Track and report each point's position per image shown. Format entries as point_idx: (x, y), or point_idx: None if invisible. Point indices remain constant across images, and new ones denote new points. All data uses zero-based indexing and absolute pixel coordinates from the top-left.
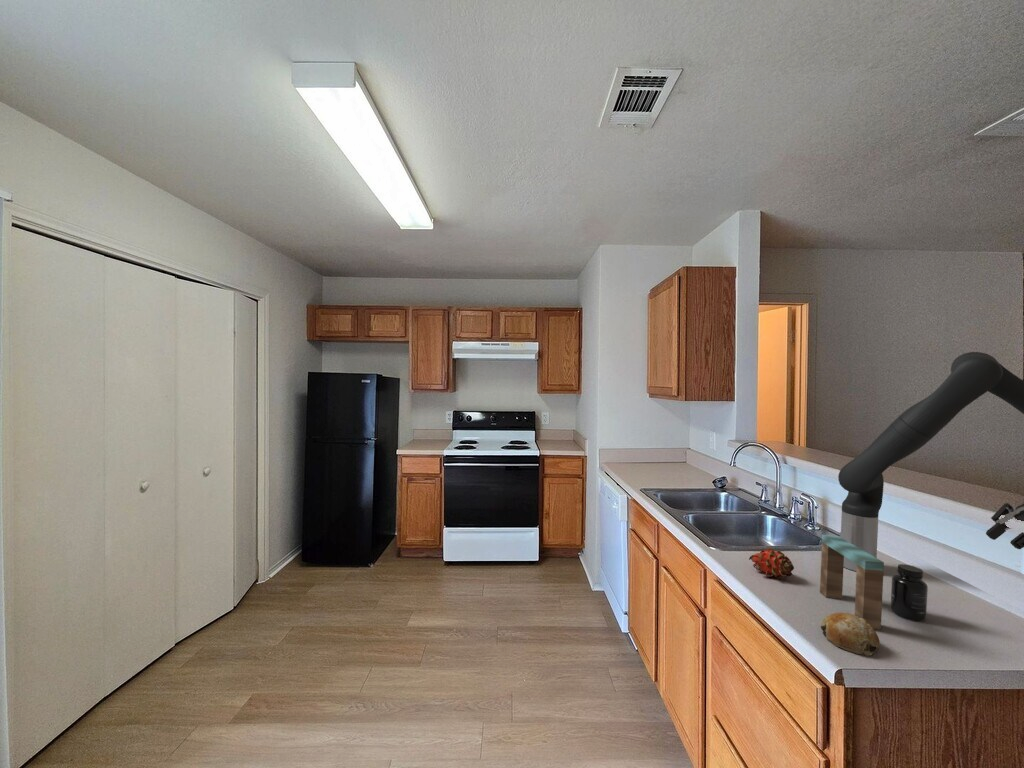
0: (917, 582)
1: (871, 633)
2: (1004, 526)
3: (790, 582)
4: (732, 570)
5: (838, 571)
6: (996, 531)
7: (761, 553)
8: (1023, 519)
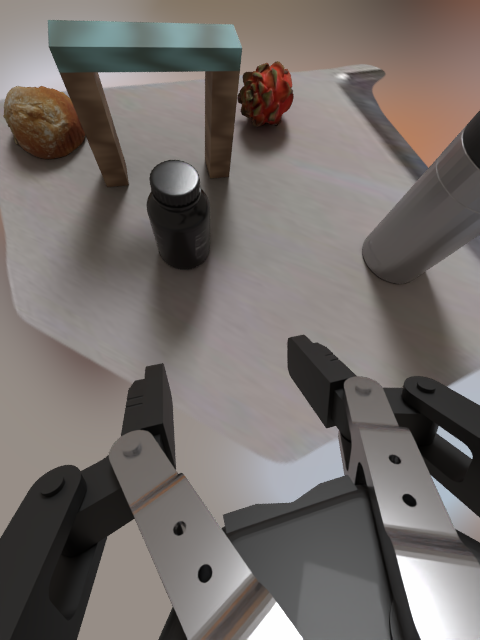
0: (154, 200)
1: (10, 120)
2: (341, 419)
3: (246, 133)
4: None
5: (209, 125)
6: (307, 374)
7: (266, 63)
8: (288, 515)
